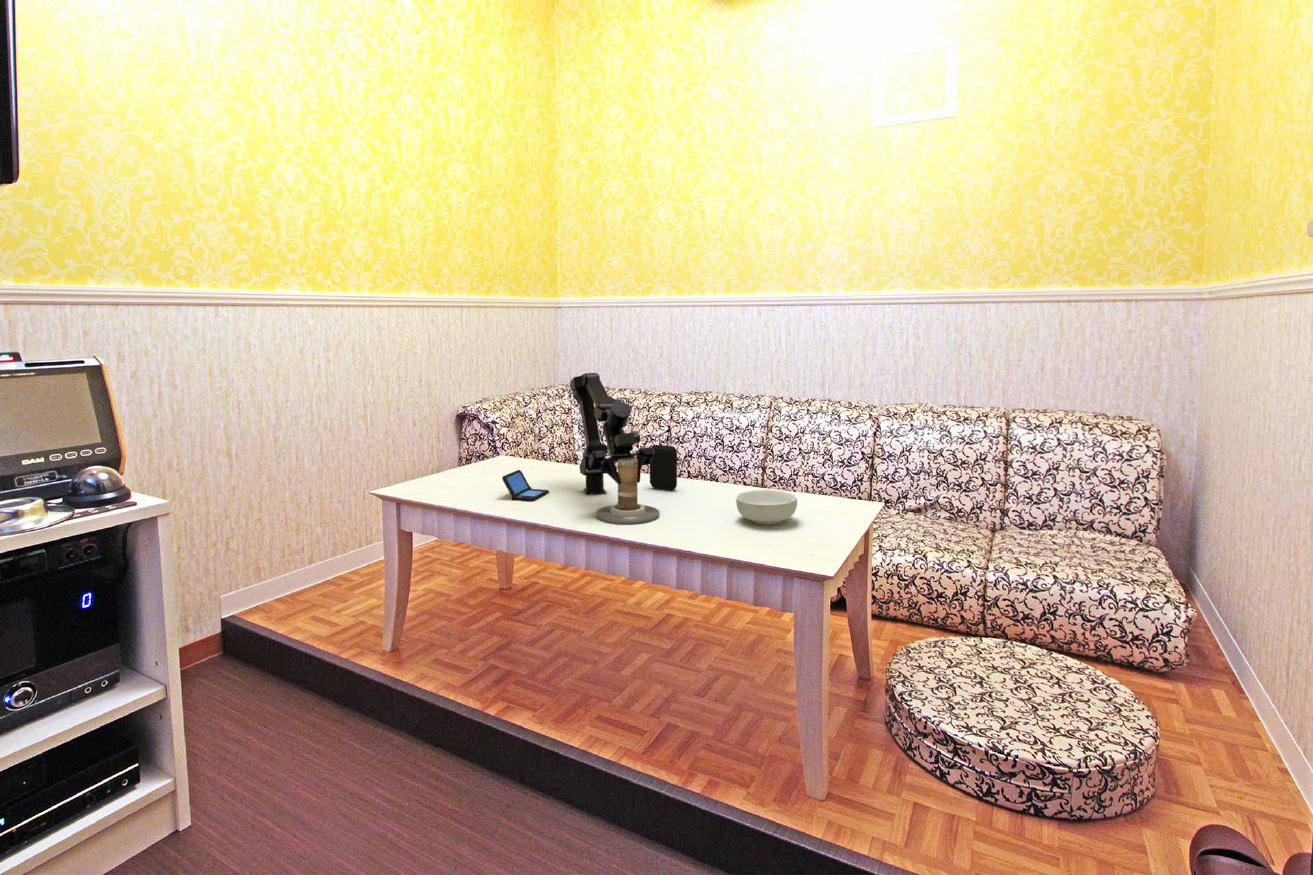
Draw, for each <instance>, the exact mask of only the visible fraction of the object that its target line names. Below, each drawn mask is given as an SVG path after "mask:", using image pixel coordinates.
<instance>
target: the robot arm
mask: <svg viewBox="0 0 1313 875" xmlns="http://www.w3.org/2000/svg"><path fill="white" fill-rule="evenodd" d="M569 390H570V391H571V392H572V397H573V399H574V400H576V402H577V403H578V404H579V408H580V415H581V422H582V428H583V432H584V440H585V448H584V451H583V452H582V458H581V461H580V464H579V473H580V474H581V475H583V476H585V487H584V488H583V492H584V493H585V494H586V495H599V494H600V495H601V494H607V490H605V488H604V484H605V483H604V481H605V480H604V474H606V475H608V476H609V477H610V478H611V479H612V480H613V481H614V482H615V483H616V484H617V486H618V485H620V483H621V482H620V478H619V475H618V468H617V466H616V462H617V463H618V459H620V458H635V459H637V484H639V483H640V482H641V470H642V467H643V466H650V463H651V461H652V459H653V457H654V455H655V452H654V449H653V448H651V447H652V446H649V447H648V446H647V447H639V449H638V451H637V452H631V451H633V449H634V445H636V444H638V443H639V442H641V440H642V439H641V434H640V431H639V430H633V431H632V432H625V431H624V428H625V427H626V425H627V423H628V420H629V418H630V415H631V413H632V409H631V406H630V405H629V404H627V403H626V402H623V401H622V398H616V399H615V398H613V397H611V396H609V394H608V391H606V389H605V387H604V385H603V383H602V381H601V378H600V374H599V373H597V372H586V373H583V374H581V375H578V376H574V377H573V378H572V379H571V380H570V381H569ZM598 422H599V423H601V422H604V423H603V425H602V427H601V428H602V435H604V438H605V441H606V443H605V444H604V443H602V441H601V437H600V430H599V426H598ZM606 444H607V445H606ZM608 451H609V452H608Z"/></svg>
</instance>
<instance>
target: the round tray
mask: <svg viewBox="0 0 1313 875" xmlns="http://www.w3.org/2000/svg"><path fill="white" fill-rule="evenodd" d="M595 514H596V515H595V516H596V519H597V520H599V521H601V522H604V523H607V524H611V525H612V524H613V525H629V526H630V525H641V524H642V525H643V524H647V523H651V522H654V521H656V520H658V519H659V518H660V511H659V510H658V509H657V508H656V507H653V506H650V505H644V504H642V503H641V504H640V503H637V505H636V506H633V507H622V506H619V505H618V503H616V504H612V505H611V504H610V505H608V506H607V505H606V506H604V507H601V508H599V509H598V510H596V512H595Z"/></svg>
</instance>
